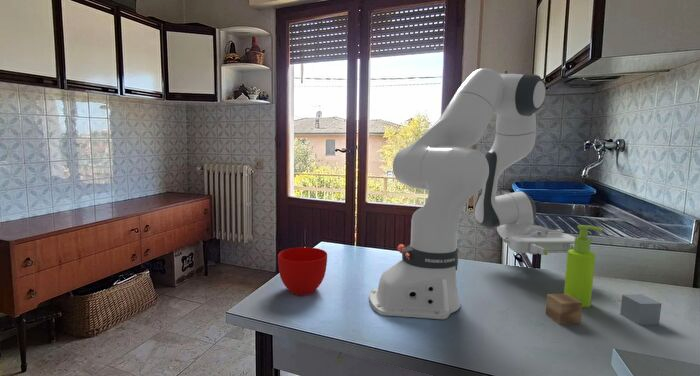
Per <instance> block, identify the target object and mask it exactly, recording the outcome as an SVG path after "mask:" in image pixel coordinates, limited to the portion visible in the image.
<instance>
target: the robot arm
mask: <svg viewBox="0 0 700 376" xmlns="http://www.w3.org/2000/svg"><path fill="white" fill-rule="evenodd" d="M546 93H547V89H546V82H545V81H544V80H543V78H542V77H541V76H540V75H537V74H534V73H532V74H531V73H525V74H522V73H521V74H519V73H502V72H501V73H499V72H497V71H496V70H493V69H492V68H485V67H483V68H479V69H476V70H474V71H472V72H471V73H470V74H469V76H467V78H465V80H463V82H462V83H461V85H460V86H459V87H458V89H457V90H456V91H455V93H454V95H453V96H452V98H451V100H450V101H449V103H448V104H447V106H446V108H445V109H444V111H443V112H442V114H441V116H440V117H439V118H438V120H437V121H436V122H435V123H433V125H432V126H431V127H430V128H429V129H427V130H426V132H425V133H424V134H422V135H421V136H420V137H419V138H417V140H415V141H414V142H413V143H411V144H409V145H407V146H406V147H404V148H402V149H400V150H399V151H398V152H396V154H395V156H394V159H393V162H392V172H393V175H394V177H395V179H396V180H397V181H398V182H400V183H401V184H403V185H406V186H408V187H410V188H413V189H418V190H426V191H428V193H427V198H426V201H425V203H424V205H423V206H421V207H419V208H417V209H416V210H415V211H414V212H413V214H412V217H411V225H410V244H409V245H407V246H405V244H402V243H400V244H398V246H397V251H398V252H399V253H400V254H401V255H402V256H401V260H399V261H398V262H396V263H395V264H394V265H392V266H391V267H390V268H388V269H386V270H385V271H384V272H382V274H381V275H380V279H379V281H378V286H377V287H376V288H375V287H374V288H373V289H371V290H370V292H369V296H368V299H369V300H368V301H369V304H370V306H371V308H372V309H373V310H374V311H375V312H376V313H377V314H379V315H381V316H390V317H405V318H418V319H431V320H433V319H435V320H447V319H448V318H449V316H450V315H451V314H452V313H453V314H454V313H455V312H457V311H458V310H459V309H460V307H461V302H460V297H459V293H458V291H459V290H458V285H457V283H458V282H457V271H458V265H459V249H458V247H457V243H458V242H457V241H458V231H459V223H460V219H461V214H462V211H463V209H464V208H465V206H466V205H467V203H468V201H469V200H470V199H471V198H472V197H473V196H474V195H475V194H477V193H478V195H477V199H476V202H475V205H474V217H475V220H476V222H477V223H478V224H479V225H480V226H482V227H484V228H486V229H488V230H491V229H495V228H496V230H497V233H498V235H499V236H500V237H501V238H502V242H503V243H505V244H506V245H507V247H508V248H509V249H510V250H511V251H513V252H515V253H516V254H517V253H518V254H531V255H538V254H539V255H541V256H547V255H548V254H568V250H571V249H574V242H575V238H576V237H577V236H573V235H571V234H568V233H565V232H563V231H562V230H561V229H559V228H552V227H543V226H541V225H536V224H535V222H536V218H537V207H536V203H535V201H534V200H533V198H532V197H531V196H530V195H529V194H527V193H526V192H525V191H521V190H519V191H515V192H509V193H506V194H500V195H497V188H498V184H499V178H500V176H501V175H502V173H504V171H505V170H506V169H508V168H509V167H511V166H512V165H513V164H516V163H517V162H519V161H520V160H523V159H524V158H525V157H527V156H528V155H529V154H530V153H531V152H532V151H533V149H534V147H535V143H536V138H537V134H536V133H537V119H536V113H537V112H538V111H539V110H540V109H541V107H543V105H544V103H545V100H546V99H545V98H546ZM495 115H496V121H495V137H494V141H493V143H492V146H491V148H490V149H489V150H488V151H487V152H486V153H485V154H484V153H483V152H482V151H480V150H477V149H474V148H471V147H473V146H474V145H476V144H477V143H478V142H479V141H480V140H481V139H482V137H483V135H484V133H485V131H486V130H487V127H488V125H489V124H490V122H491V120H492V118H493V117H494V116H495Z"/></svg>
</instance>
